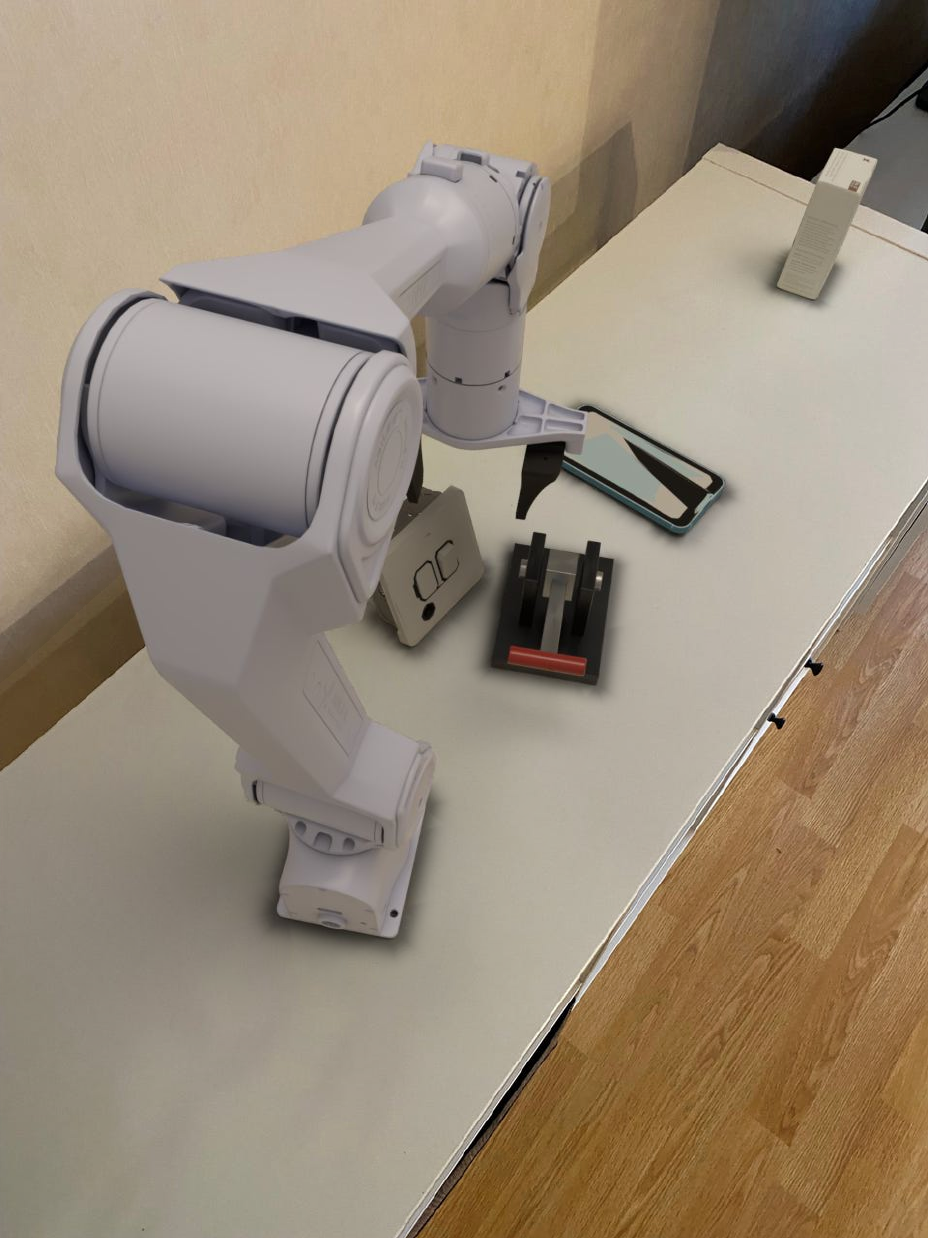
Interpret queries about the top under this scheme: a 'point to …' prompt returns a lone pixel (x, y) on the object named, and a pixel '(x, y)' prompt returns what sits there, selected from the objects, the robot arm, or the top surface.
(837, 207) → the cosmetic box
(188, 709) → the top surface
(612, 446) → the smartphone
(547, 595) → the switch lever
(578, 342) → the top surface
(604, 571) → the electrical switch base
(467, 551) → the electrical switch
